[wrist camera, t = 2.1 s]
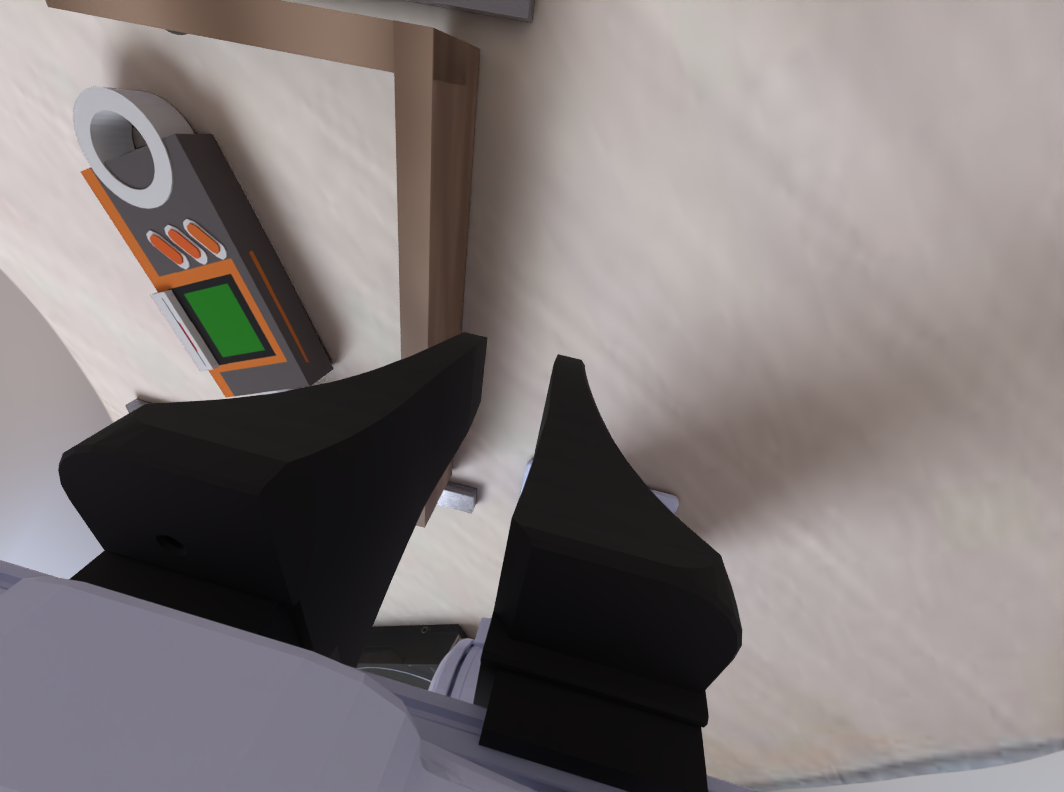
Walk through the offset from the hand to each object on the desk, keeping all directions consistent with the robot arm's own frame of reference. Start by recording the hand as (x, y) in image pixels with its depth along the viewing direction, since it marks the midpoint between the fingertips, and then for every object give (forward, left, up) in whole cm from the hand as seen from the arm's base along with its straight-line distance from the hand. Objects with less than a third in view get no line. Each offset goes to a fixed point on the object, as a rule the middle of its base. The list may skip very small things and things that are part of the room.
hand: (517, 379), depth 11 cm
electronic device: (+18, +4, -11) cm, 22 cm away
